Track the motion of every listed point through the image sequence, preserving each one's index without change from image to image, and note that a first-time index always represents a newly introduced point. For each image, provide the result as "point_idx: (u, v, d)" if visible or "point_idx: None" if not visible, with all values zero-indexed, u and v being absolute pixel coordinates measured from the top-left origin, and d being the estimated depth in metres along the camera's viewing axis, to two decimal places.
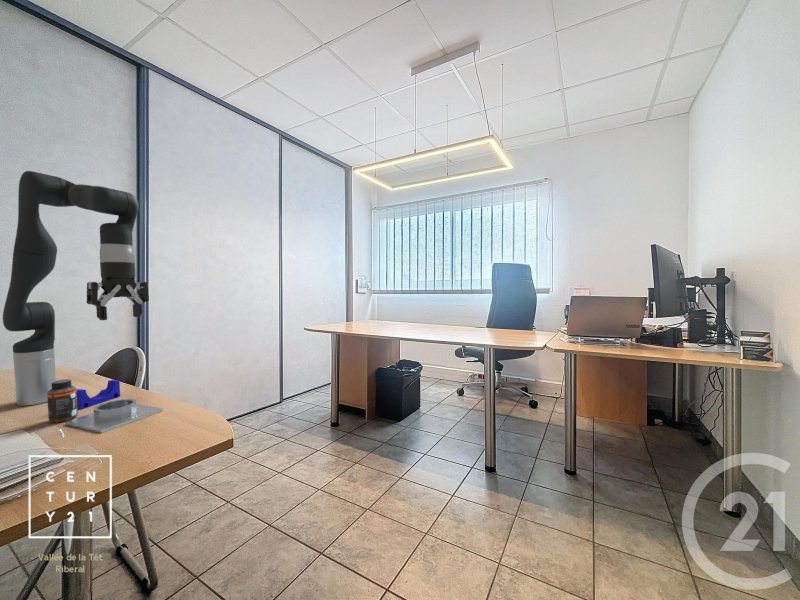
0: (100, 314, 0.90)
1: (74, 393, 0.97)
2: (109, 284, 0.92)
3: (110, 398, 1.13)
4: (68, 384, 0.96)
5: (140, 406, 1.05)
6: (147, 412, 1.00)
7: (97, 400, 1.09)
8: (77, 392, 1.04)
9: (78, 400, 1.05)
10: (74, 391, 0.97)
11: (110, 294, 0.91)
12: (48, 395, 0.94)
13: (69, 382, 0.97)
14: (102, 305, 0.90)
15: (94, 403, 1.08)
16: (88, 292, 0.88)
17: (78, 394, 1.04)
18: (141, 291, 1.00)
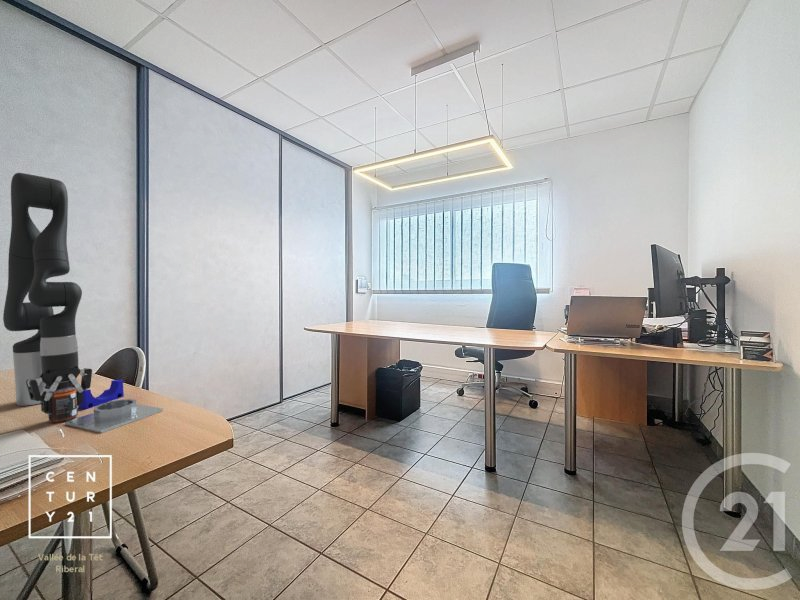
0: (44, 408, 0.92)
1: (74, 393, 0.97)
2: (49, 377, 0.93)
3: (114, 398, 1.13)
4: (68, 384, 0.96)
5: (140, 406, 1.05)
6: (147, 412, 1.00)
7: (101, 400, 1.09)
8: (82, 392, 1.04)
9: (83, 400, 1.05)
10: (74, 391, 0.97)
11: (52, 387, 0.93)
12: None
13: (69, 382, 0.97)
14: (46, 400, 0.93)
15: (98, 403, 1.08)
16: (29, 390, 0.90)
17: (83, 394, 1.04)
18: (84, 378, 1.01)
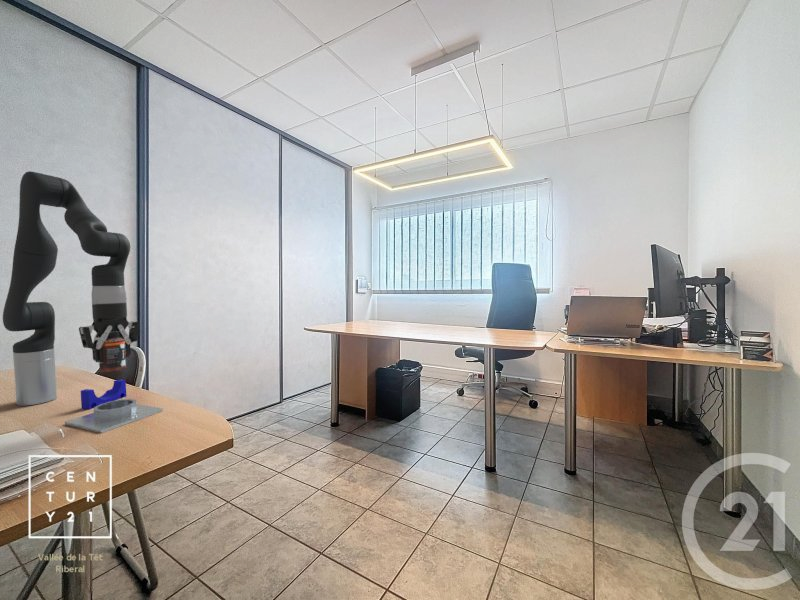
0: (96, 357, 0.93)
1: (123, 344, 0.98)
2: (100, 325, 0.93)
3: (117, 398, 1.13)
4: (117, 335, 0.97)
5: (140, 406, 1.05)
6: (147, 412, 1.00)
7: (104, 400, 1.09)
8: (85, 392, 1.04)
9: (86, 400, 1.05)
10: (123, 342, 0.98)
11: (103, 336, 0.94)
12: None
13: (119, 332, 0.97)
14: (98, 348, 0.93)
15: (102, 403, 1.08)
16: (82, 337, 0.91)
17: (86, 394, 1.04)
18: (132, 330, 1.01)
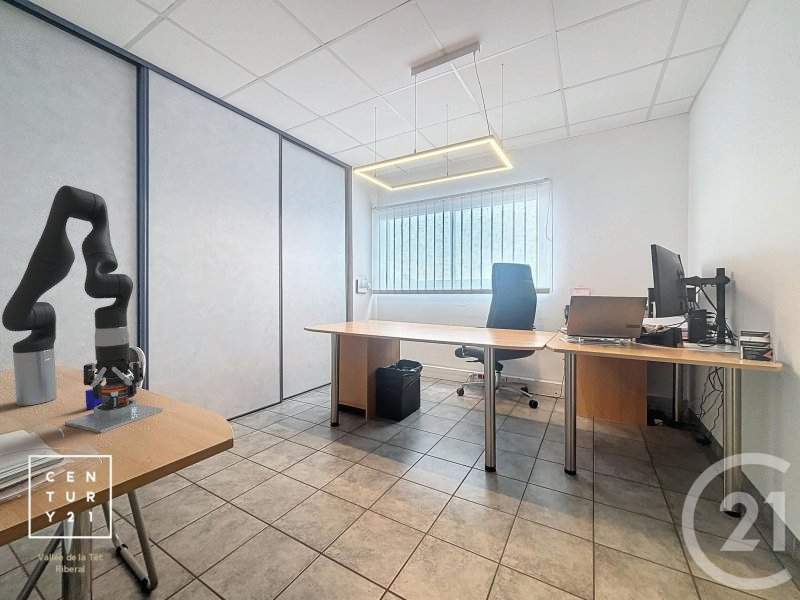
0: (93, 394, 0.96)
1: (116, 392, 0.96)
2: (99, 366, 0.96)
3: None
4: (112, 382, 0.96)
5: (140, 406, 1.05)
6: (147, 412, 1.00)
7: None
8: (90, 392, 1.05)
9: (91, 400, 1.05)
10: (116, 390, 0.96)
11: (97, 376, 0.95)
12: None
13: (115, 379, 0.96)
14: (93, 386, 0.96)
15: None
16: None
17: (91, 394, 1.05)
18: None
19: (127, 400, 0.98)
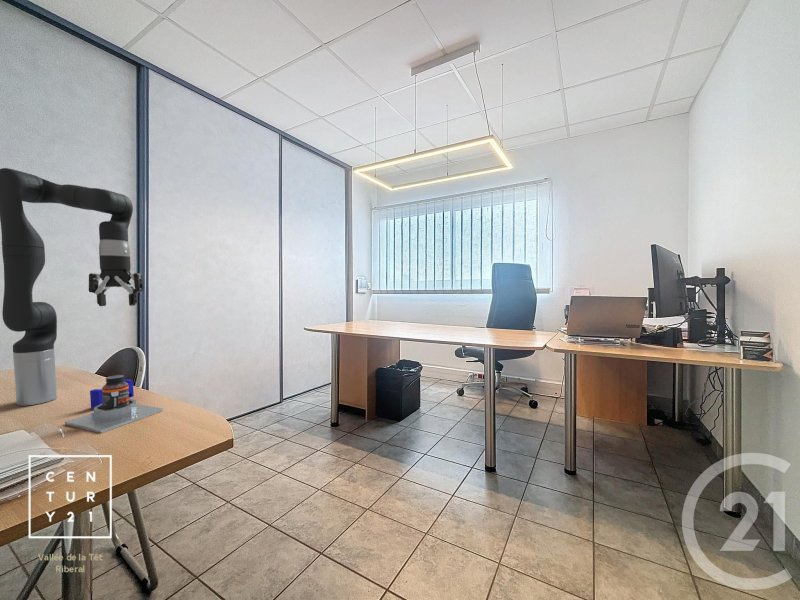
0: (97, 301, 1.06)
1: (116, 392, 0.96)
2: (103, 275, 1.06)
3: None
4: (113, 382, 0.96)
5: (140, 406, 1.05)
6: (147, 412, 1.00)
7: None
8: (95, 392, 1.05)
9: (96, 400, 1.05)
10: (117, 390, 0.96)
11: (101, 284, 1.05)
12: None
13: (115, 379, 0.96)
14: (97, 293, 1.06)
15: None
16: None
17: (96, 394, 1.05)
18: None
19: (127, 400, 0.98)
